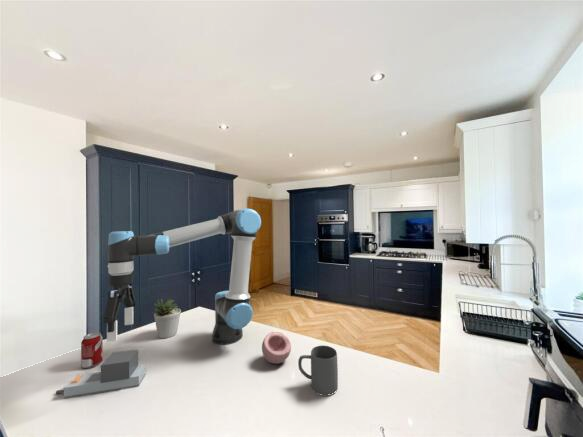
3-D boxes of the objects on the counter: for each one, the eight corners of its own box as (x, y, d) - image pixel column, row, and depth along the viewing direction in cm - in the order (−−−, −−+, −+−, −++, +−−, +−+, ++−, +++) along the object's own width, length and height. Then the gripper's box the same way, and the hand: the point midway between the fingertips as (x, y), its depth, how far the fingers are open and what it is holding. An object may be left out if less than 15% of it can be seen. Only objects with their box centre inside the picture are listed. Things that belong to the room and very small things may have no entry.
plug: (138, 370, 90) (138, 349, 91) (129, 384, 82) (129, 361, 82) (112, 374, 88) (112, 352, 88) (100, 389, 80) (100, 365, 80)
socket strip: (145, 374, 90) (145, 363, 90) (138, 386, 84) (138, 374, 84) (63, 387, 84) (63, 375, 84) (48, 401, 77) (49, 388, 77)
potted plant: (158, 330, 129) (158, 293, 130) (184, 328, 130) (184, 292, 131) (146, 341, 116) (146, 300, 117) (175, 339, 118) (175, 299, 119)
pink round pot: (273, 374, 89) (273, 343, 89) (256, 360, 98) (256, 333, 98) (297, 361, 97) (296, 333, 97) (279, 350, 106) (278, 324, 106)
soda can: (90, 370, 93) (90, 339, 94) (76, 368, 95) (76, 338, 95) (106, 360, 100) (106, 332, 100) (93, 359, 101) (93, 331, 102)
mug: (337, 379, 85) (336, 346, 86) (338, 398, 76) (337, 360, 77) (300, 376, 87) (299, 343, 88) (296, 393, 78) (296, 357, 79)
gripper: (124, 268, 98) (124, 320, 97) (89, 281, 73) (89, 351, 73) (144, 267, 99) (144, 317, 99) (117, 279, 75) (117, 347, 75)
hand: (121, 332), depth 86 cm, fingers open, 13 cm apart
